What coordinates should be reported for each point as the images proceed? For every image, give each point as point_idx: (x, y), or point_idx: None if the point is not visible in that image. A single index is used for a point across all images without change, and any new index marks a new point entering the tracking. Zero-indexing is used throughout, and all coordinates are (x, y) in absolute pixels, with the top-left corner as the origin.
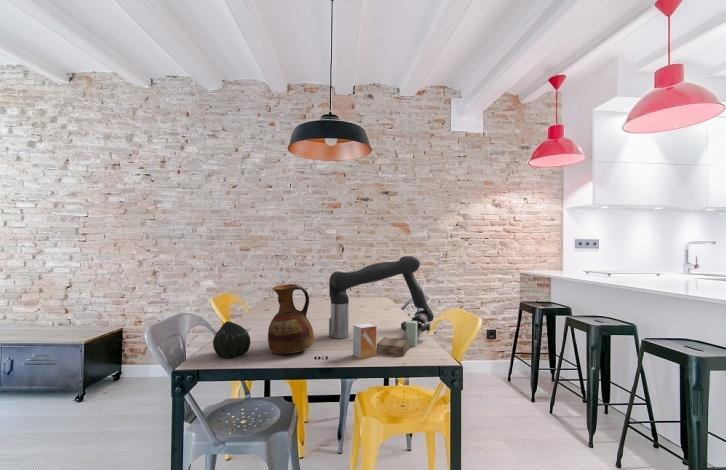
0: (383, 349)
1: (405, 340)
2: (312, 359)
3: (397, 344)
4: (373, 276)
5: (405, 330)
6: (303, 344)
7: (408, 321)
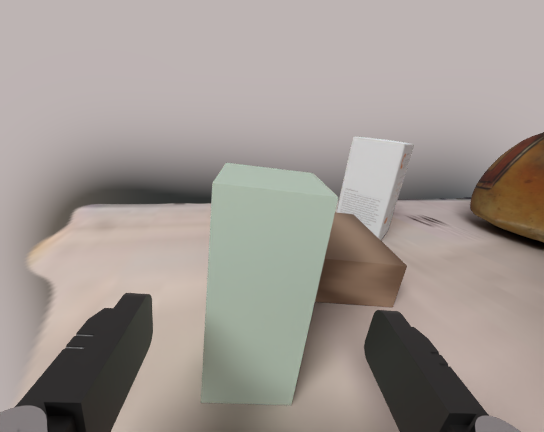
0: None
1: None
2: (427, 215)
3: None
4: None
5: (371, 366)
6: (472, 197)
7: (309, 181)
